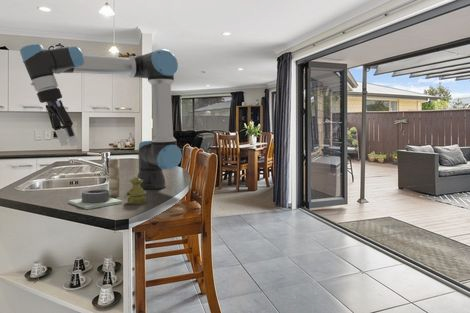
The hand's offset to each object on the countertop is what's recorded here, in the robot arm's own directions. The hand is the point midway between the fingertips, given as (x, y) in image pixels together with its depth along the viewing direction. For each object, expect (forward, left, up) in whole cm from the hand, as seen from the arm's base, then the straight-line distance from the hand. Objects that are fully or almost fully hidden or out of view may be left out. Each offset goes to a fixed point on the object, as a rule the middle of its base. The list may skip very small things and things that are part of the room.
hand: (69, 145), depth 120 cm
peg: (-18, 0, -22) cm, 29 cm away
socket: (-6, +7, -22) cm, 24 cm away
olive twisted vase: (-18, +17, -22) cm, 33 cm away
